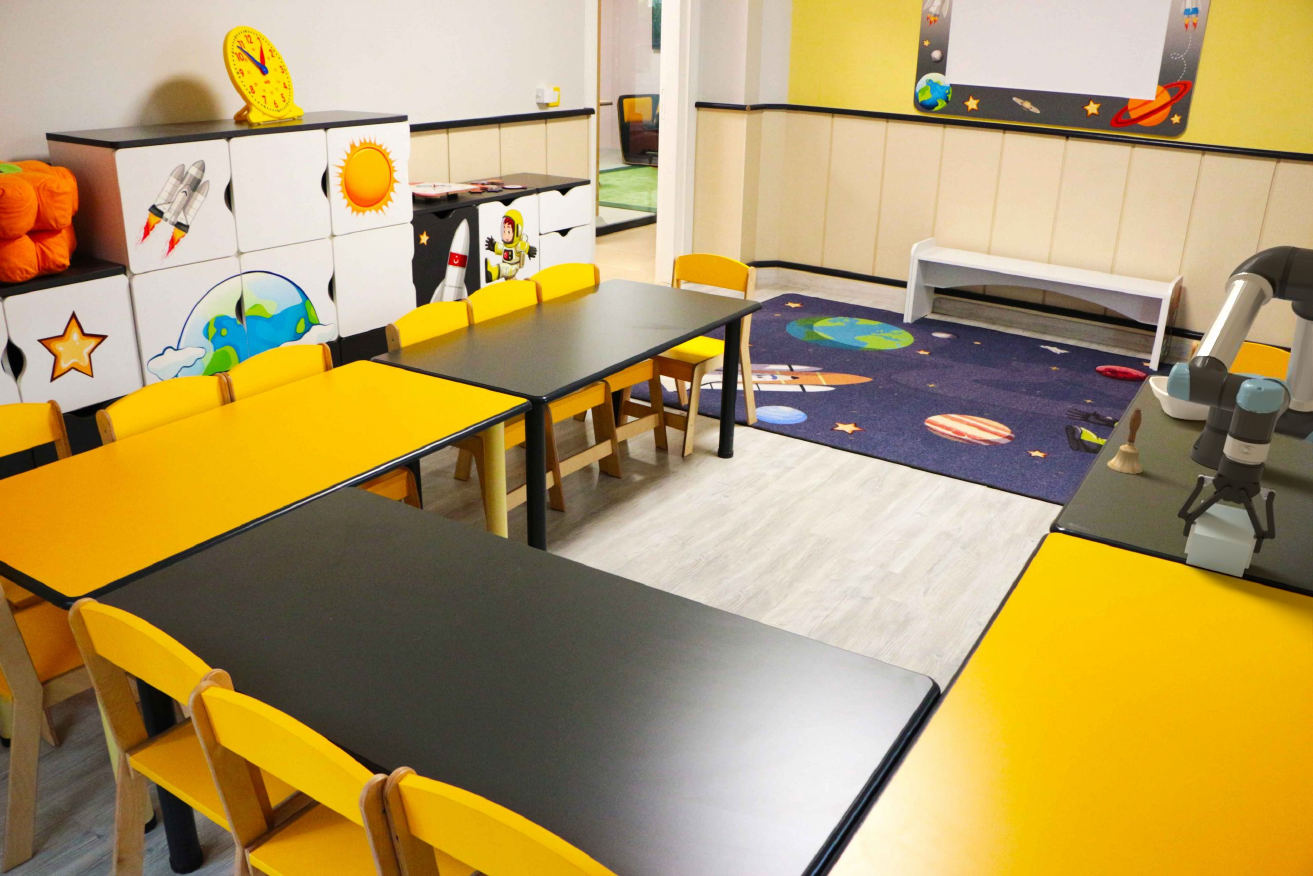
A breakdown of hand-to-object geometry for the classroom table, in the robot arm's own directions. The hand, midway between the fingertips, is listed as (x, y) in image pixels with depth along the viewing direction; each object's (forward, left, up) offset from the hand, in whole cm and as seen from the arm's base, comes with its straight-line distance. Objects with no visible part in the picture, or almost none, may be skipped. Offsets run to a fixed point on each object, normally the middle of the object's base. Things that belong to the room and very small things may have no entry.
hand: (1216, 558), depth 208 cm
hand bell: (-29, -43, -2) cm, 52 cm away
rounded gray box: (-2, -1, 0) cm, 2 cm away
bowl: (-80, -62, -2) cm, 101 cm away
